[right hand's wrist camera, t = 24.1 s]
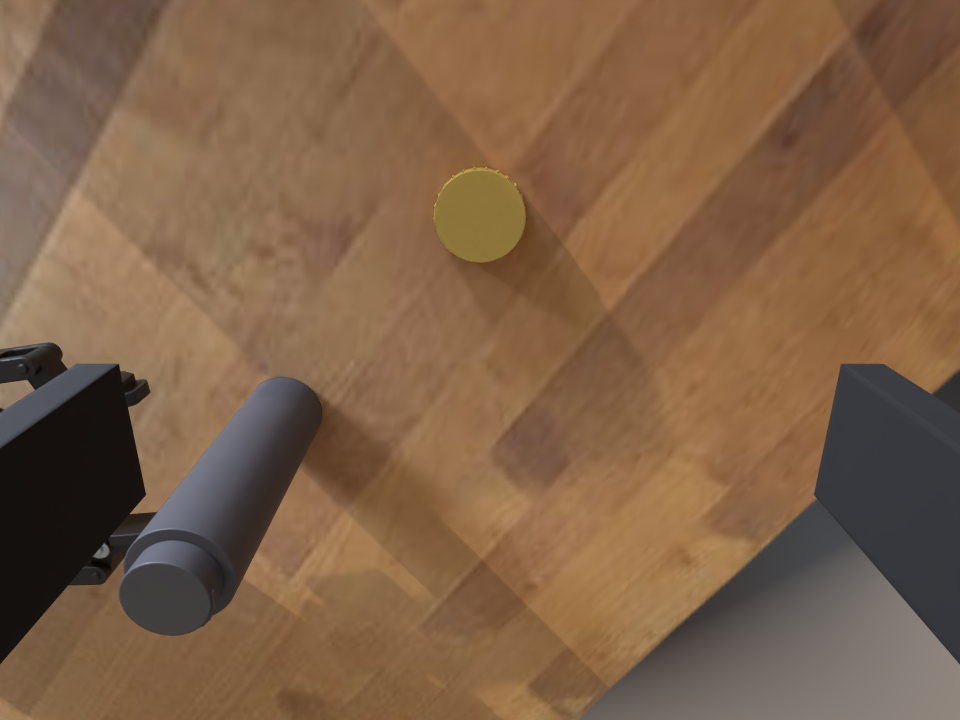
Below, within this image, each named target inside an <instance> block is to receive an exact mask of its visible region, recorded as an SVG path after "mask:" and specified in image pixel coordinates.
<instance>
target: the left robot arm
mask: <svg viewBox="0 0 960 720" xmlns="http://www.w3.org/2000/svg"><path fill="white" fill-rule="evenodd" d="M62 356H63V354H62V351H61V349H60V348H59V346H57V345H56V344H54V343H41V344H34V345H28V346H21V347H14V348H7V349H0V383H7V382H14V381H21V380H28V381H29V382H30V384H31V385H32V386H33V388H34V389H35V390H37V389H38V388H40V387H41V386H43V385H44V384H46V383H48V382H49V381H51V380H52V379H54V378H55V377H57V376H58V375H60V374H62V373H63V372H65V371H66V370H68V369H67V368H66V366H65V365H64V364H63V362H62V361H61V359H62ZM121 377H122V382H123V387H124V392H125V396H126V401H127V406H128V407H129V406H133V405H136V404H138V403H139V402H140V401H141V400H142V399H144V398H145V397H146V396H147V395H148V394H149V393H150V389H149V386H148V382H147V380H145V379H141V380H135V376H134V374H132V373H128V372H124V371H122V372H121ZM2 411H4V409H2V408H0V413H1V412H2ZM156 514H157V512H153V513H140V514H129V515H128V516H127V517H126V519H125V520H124V521H123V522H122V523H121V524H120V526H119V527H118V528H117V529H116V530H115V531H114V532H113V534H112V535H111V536H110V537H109V538H108V539H107V541H106V542H105V543H104V544H103V545H102V546H101V548H100V549H99V550H98V551H97V552H96V553H95V555H94V556H93V557H92V558H91V559H90V560H89V562H88V563H87V564H86V565H85V566H84V567H83V569H82V570H81V571H80V572H79V573H78V574H77V576H76V577H75V578H74V579H73V580H72V581H71V582H70V584H69V585H100V584H103V583H105V581H106V580H107V579H108V578H109V576H110V575H111V574H112V573H113V571H114V570H115V569H116V567H117V566H118V565H119V564H120V562H121V561H122V560H123V559H124V557H125V556H126V553H127V551H128V549H129V548H130V546H131V545H132V544H133V542H134V541H135V540H136V539H137V537H138V536H139V535H140V534H141V532H142V531H143V530H144V529H145V527H146V526H147V525H148V524H149V522H150V521H151V520H152V519H153V517H154V516H155V515H156Z"/></svg>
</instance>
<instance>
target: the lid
mask: <svg viewBox="0 0 960 720" xmlns="http://www.w3.org/2000/svg"><path fill="white" fill-rule="evenodd" d="M437 197H438V199H437V202H436V204H435V205H434V208H435V211H434V218H433V220H434V222H435V228H436V231H437V234H438V236H439V238H440V241H441V242H442V243H443V245H444V246H445V247H446V248H447V249H448V250H449V251H450V252H451V253H452V254H454V255H455V256H457V257H459V258H461V259H463V260H466V261H469V262H475V263H485V262H491V261H495V260H497V259H499V258H501V257H503V256H505V255H506V254H508V253H509V252H510V251H511V250H512V249H513V248H514V247H515V246H516V245H517V243H518V242H519V240H520V238H521V236H522V234H523V232H524V228H525V222H526V221H527V218H526V211H525V209H526V206H525V204H524V202H523V199H522V198H523V195H522V193H520V192H519V190H518V189H517V185H516V183H515V184H514V183H513V182H512V181H511V180H510V179H509V177H508V175H506V176H505V175H504V174H502V173H500V172H499V171H498V170H493V169H489V168H487V167H486V166H485V168H476V167H475V166H474V168H471V169H467V170H464V169H463V170H462V172H460V173H458V174H456V175H455V176H454V175H452V178H451V179H450V180H449V181H448V182H447V183H444V185H443V189H442V191H441V192H440V193H438V195H437Z"/></svg>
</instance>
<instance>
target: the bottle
mask: <svg viewBox="0 0 960 720" xmlns="http://www.w3.org/2000/svg"><path fill="white" fill-rule="evenodd" d="M321 419H322V408H321V404H320V401H319V399H318V397H317V396H316V394H315V393H314V392H313V391H312V390H311V389H310V388H309V387H308V386H307V385H305V384H304V383H302V382H300V381H298V380H295V379H291V378H285V377H279V378H273V379H269V380H267V381H265V382H263V383H261V384H260V385H259V386H258V387H257V388H256V389H255V390H254V391H253V393H252V394H251V395H250V396H249V398H248V399H247V400H246V402H245V403H244V404H243V405H242V407H241V408H240V409H239V410H238V412H237V413H236V414H235V415H234V417H233V418H232V419H231V420H230V422H229V423H228V424H227V425H226V427H225V428H224V429H223V430H222V432H221V433H220V434H219V435H218V437H217V438H216V439H215V441H214V442H213V443H212V444H211V446H210V447H209V448H208V449H207V451H206V452H205V453H204V454H203V456H202V457H201V458H200V459H199V461H198V462H197V463H196V464H195V466H194V467H193V468H192V469H191V471H190V472H189V473H188V475H187V476H186V477H185V478H184V480H183V481H182V482H181V483H180V485H179V486H178V487H177V488H176V490H175V491H174V492H173V493H172V495H171V496H170V497H169V498H168V500H167V501H166V502H165V503H164V505H163V506H162V507H161V508H160V510H159V511H158V512H157V514H156V515H155V516H154V517H153V519H152V520H151V521H150V522H149V524H148V525H147V526H146V527H145V529H144V530H143V531H142V532H141V534H140V535H139V536H138V537H137V539H136V540H135V541H134V542H133V544H132V545H131V546H130V548H129V549H128V551H127V553H126V556H125V560H124V574H125V575H124V576H123V579H122V581H121V583H120V587H119V599H120V603H121V605H122V607H123V609H124V611H125V612H126V614H127V615H128V616H129V617H130V619H132V620H133V621H134V622H135V623H136V624H138V625H139V626H141V627H142V628H144V629H146V630H148V631H151V632H154V633H157V634H161V635H170V636H175V635H183V634H187V633H190V632H192V631H195V630H196V629H198V628H200V627H201V626H204V625H205V624H206V623H207V622H208V621H209V620H210V619H211V617H212V615H214V614H216V613H218V612H220V611H221V610H223V609H224V608H225V607H226V606H227V605H228V604H229V603H230V602H231V600H232V598H233V597H234V595H235V593H236V591H237V589H238V587H239V585H240V583H241V581H242V579H243V577H244V575H245V573H246V571H247V569H248V567H249V565H250V563H251V561H252V559H253V557H254V555H255V553H256V551H257V549H258V547H259V545H260V543H261V541H262V539H263V537H264V535H265V533H266V531H267V529H268V527H269V525H270V523H271V521H272V519H273V517H274V515H275V513H276V511H277V509H278V507H279V505H280V503H281V501H282V499H283V497H284V495H285V493H286V491H287V489H288V487H289V485H290V483H291V481H292V479H293V477H294V475H295V473H296V471H297V469H298V467H299V465H300V463H301V461H302V460H303V458H304V456H305V454H306V452H307V450H308V448H309V446H310V444H311V442H312V440H313V438H314V436H315V434H316V432H317V430H318V428H319V426H320V423H321Z"/></svg>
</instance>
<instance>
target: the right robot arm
mask: <svg viewBox="0 0 960 720" xmlns="http://www.w3.org/2000/svg"><path fill="white" fill-rule="evenodd" d="M145 495H146V493H145V488H144V483H143V478H142V473H141V468H140V464H139V459H138V454H137V449H136V444H135V440H134V435H133V430H132V425H131V420H130V416H129V411H128V406H127V401H126V396H125V392H124V387H123V382H122V377H121V372H120V368H119V364H76V365H74V366H73V367H71V368H69V369H68V370H66V371H65V372H63V373H62V374H60V375H58V376H57V377H55V378H54V379H52V380H51V381H49V382H48V383H46V384H44V385H43V386H41V387H40V388H38V389H37V390H35V391H33V392H32V393H30V394H29V395H27V396H26V397H24V398H22V399H21V400H19V401H18V402H16V403H15V404H13V405H11V406H10V407H8V408H7V409H5V410H4V411H2V412H1V413H0V664H1V663H2V662H3V660H4V659H5V658H6V657H7V656H8V655H9V653H10V652H11V651H12V650H13V649H14V648H15V646H16V645H17V644H18V643H19V642H20V641H21V639H22V638H23V637H24V636H25V635H26V634H27V632H28V631H29V630H30V629H31V628H32V627H33V625H34V624H35V623H36V622H37V621H38V620H39V619H40V617H41V616H42V615H43V614H44V613H45V612H46V610H47V609H48V608H49V607H50V606H51V605H52V603H53V602H54V601H55V600H56V599H57V598H58V596H59V595H60V594H61V593H62V592H63V591H64V589H65V588H66V587H67V586H68V585H69V584H70V582H71V581H72V580H73V579H74V578H75V577H76V576H77V574H78V573H79V572H80V571H81V570H82V569H83V567H84V566H85V565H86V564H87V563H88V562H89V560H90V559H91V558H92V557H93V556H94V555H95V553H96V552H97V551H98V550H99V549H100V548H101V546H102V545H103V544H104V543H105V542H106V541H107V539H108V538H109V537H110V536H111V535H112V534H113V532H114V531H115V530H116V529H117V528H118V527H119V526H120V524H121V523H122V522H123V521H124V520H125V519H126V517H127V516H128V515H129V514H130V513H131V512H132V510H133V509H134V508H135V507H136V506H137V505H138V503H139V502H140V501H141V500H142V499H143V498H144V496H145ZM814 495H815V496H816V498H817V499H818V500H819V501H820V502H821V503H822V505H823V506H824V507H825V508H826V509H827V510H828V512H829V513H830V514H831V515H832V516H833V517H834V519H835V520H836V521H837V522H838V523H839V524H840V526H841V527H842V528H843V529H844V530H845V531H846V532H847V534H848V535H849V536H850V537H851V538H852V539H853V541H854V542H855V543H856V544H857V545H858V546H859V548H860V549H861V550H862V551H863V552H864V553H865V555H866V556H867V557H868V558H869V559H870V560H871V562H872V563H873V564H874V565H875V566H876V567H877V569H878V570H879V571H880V572H881V573H882V574H883V576H884V577H885V578H886V579H887V580H888V581H889V582H890V584H891V585H892V586H893V587H894V588H895V589H896V591H897V592H898V593H899V594H900V595H901V596H902V598H903V599H904V600H905V601H906V602H907V603H908V605H909V606H910V607H911V608H912V609H913V610H914V612H915V613H916V614H917V615H918V616H919V617H920V619H921V620H922V621H923V622H924V623H925V624H926V625H927V627H928V628H929V629H930V630H931V631H932V632H933V634H934V635H935V636H936V637H937V638H938V639H939V641H940V642H941V643H942V644H943V645H944V646H945V648H946V649H947V650H948V651H949V652H950V653H951V655H952V656H953V657H954V658H955V659H956V660H957V661H958V663H959V664H960V413H959V412H958V411H956V410H955V409H953V408H952V407H950V406H948V405H947V404H945V403H944V402H942V401H941V400H939V399H938V398H936V397H934V396H933V395H931V394H930V393H928V392H927V391H925V390H923V389H922V388H920V387H919V386H917V385H916V384H914V383H912V382H911V381H909V380H908V379H906V378H905V377H903V376H902V375H900V374H898V373H897V372H895V371H894V370H892V369H891V368H889V367H887V366H886V365H884V364H841V368H840V372H839V377H838V382H837V387H836V392H835V396H834V401H833V406H832V411H831V416H830V420H829V425H828V430H827V435H826V440H825V444H824V449H823V454H822V459H821V464H820V468H819V473H818V478H817V483H816V488H815V493H814Z"/></svg>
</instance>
